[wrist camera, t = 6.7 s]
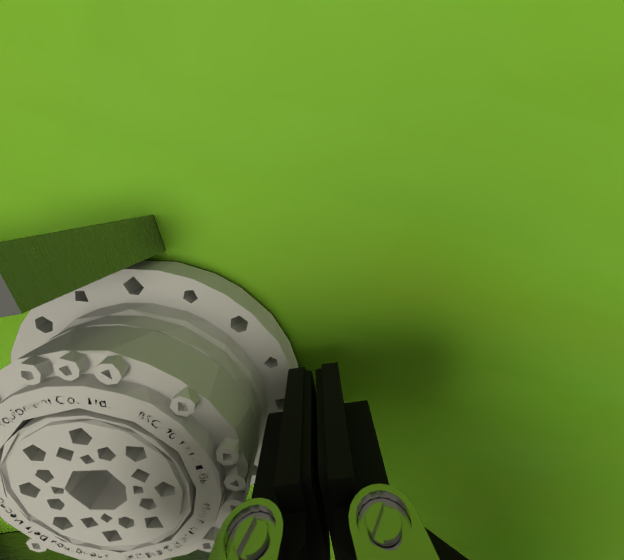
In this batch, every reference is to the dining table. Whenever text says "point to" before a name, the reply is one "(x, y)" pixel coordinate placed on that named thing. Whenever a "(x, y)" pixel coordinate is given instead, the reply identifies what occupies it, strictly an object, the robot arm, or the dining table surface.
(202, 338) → the mechanical component
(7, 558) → the bracket
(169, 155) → the dining table surface
